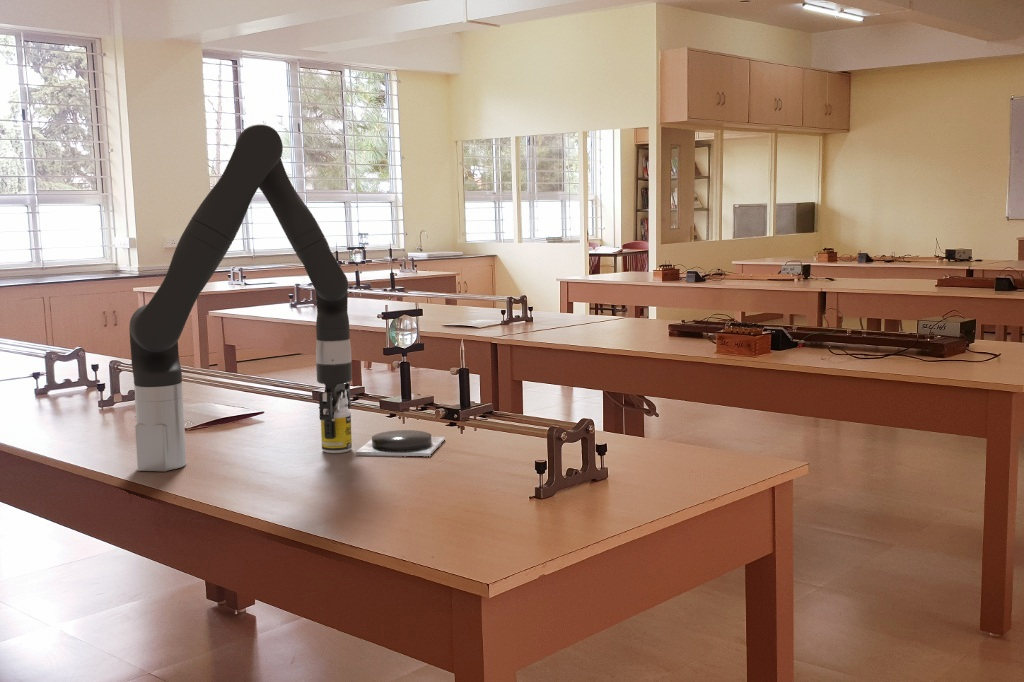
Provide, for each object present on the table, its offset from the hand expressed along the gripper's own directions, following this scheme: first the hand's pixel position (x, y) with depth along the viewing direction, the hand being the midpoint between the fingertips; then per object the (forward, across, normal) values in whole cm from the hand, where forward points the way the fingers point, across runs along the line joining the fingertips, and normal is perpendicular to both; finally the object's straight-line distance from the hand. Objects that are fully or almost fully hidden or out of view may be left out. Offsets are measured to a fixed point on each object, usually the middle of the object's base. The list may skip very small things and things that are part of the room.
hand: (336, 434), depth 216 cm
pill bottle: (+4, 0, 0) cm, 4 cm away
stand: (+4, +4, -14) cm, 15 cm away
